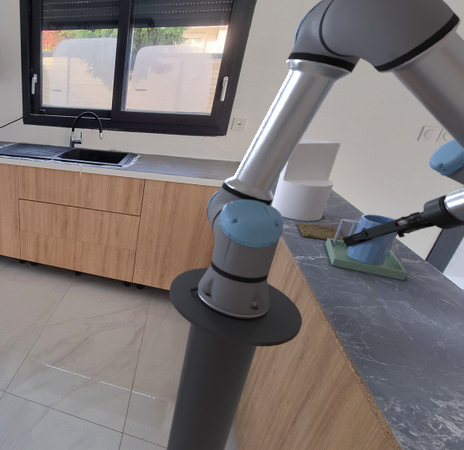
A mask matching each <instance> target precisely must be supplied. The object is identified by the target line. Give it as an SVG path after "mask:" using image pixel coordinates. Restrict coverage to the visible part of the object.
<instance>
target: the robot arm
mask: <svg viewBox="0 0 464 450" xmlns="http://www.w3.org/2000/svg"><path fill="white" fill-rule="evenodd" d="M460 24H461V18H460V17H459V16H458V15H457V13H456V12H455V11H454V10H453V9H452V8H451V6H449V4H448V3H447V2H445V1H444V0H320V1H319V2H317V3H316V4H315V5H313V7H312V8H311V9H310V10H308V12H307V13H306V14H305V15H304V16H303V17H302V19H301V20H300V22H299V24H298V25H297V28H296V30H295V33H294V39H293V45H294V46H293V47H292V50H291V51H290V53H289V55H288V57H287V59H286V61H285V62H286V66H287V69H288V74H287V75H286V77H285V80H284V81H283V82H282V85H281V87H280V89H279V91H278V93H277V95H276V97H275V98H274V100H273V102H272V104H271V105H270V108H269V110H268V111H267V112H266V115H265V117H264V119H263V121H262V123H261V125H260V126H259V129H258V130H257V132H256V134H255V136H254V138H253V140H252V141H251V144H250V145H249V147H248V149H247V151H246V153H245V155H244V157H243V159H242V161H241V162H240V164H239V166H238V168H237V170H236V172H235V174H234V175H233V176H230V177H228V178H225V179H224V180H223V182H222V185H221V186H220V188H219V190H217V191H215V192H214V194H212V195H211V197H210V199H209V200H208V203H207V207H206V217H207V220H208V222H209V225H210V228H211V230H212V233H213V236H214V246H213V251H212V256H211V261H210V265H209V267H207V268H208V270H207V271H206V273H205V274H204V276H203V277H202V279H201V280H200V282H199V284H198V287H194V288H190V290H191V292H194V291H197V296H198V298H199V300H200V301H201V302H202V303H203V304H204V305H205V306H206V307H207V308H209V309H210V310H212V311H214V312H216V313H218V314H220V315H222V316H225V317H228V318H232V319H236V320H245V321H250V320H257V319H260V318H262V317H264V316H265V315H266V314H267V312H268V309H269V304H270V299H269V291H268V284H269V283H268V278H269V274H270V271H271V267H272V264H273V262H274V259H275V255H276V251H277V248H278V246H279V242H280V239H281V238H282V234H283V226H284V217H283V216H282V215H281V213H280V212H279V211H278V210H277V209H275V208H274V207H272V203H273V199H274V194H273V192H272V189H273V187H274V185H275V183H276V182H277V180H279V177H280V174H281V172H282V170H283V169H284V167H285V165H286V164H287V162H288V160H289V159H290V157H291V155H292V154H293V152H294V150H295V149H296V147H297V145H298V144H299V142H300V140H303V137H304V136H305V134H306V132H307V130H309V127H310V125H311V124H312V122H313V120H314V119H315V117H316V116H317V114H318V112H319V110H320V109H321V107H322V106H323V104H324V102H325V101H326V99H327V98H328V96H329V94H330V93H331V91H332V89H333V88H334V86H335V84H336V83H337V82H339V81H340V80H342V79H346V78H347V77H349V76H350V75H352V73H353V71H354V70H355V68H356V66H357V65H358V63H359V61H360V60H363V61H365V62H367V63H369V64H370V65H371V66H372V67H373V68H374V69H375V70H376V71H377V72H378V73H379V74H386V73H387V74H388V73H389V74H392V76H394V77H395V78H396V79H397V81H398V82H399V83H400V84H401V85H402V86H403V87H404V88H405V89H406V90H407V91H408V93H410V94H411V95H412V96H413V97H414V99H415V100H416V101H418V102H419V104H420V105H421V106H422V108H424V109H425V110H426V111H427V112H428V113H429V114H430V115H431V116H432V118H433V119H434V120H435V121H436V122H437V123H438V124H439V125H440V126H441V127H442V128H443V129H444V130H445V131H446V132H447V133H448V135H449V136H450V137H451V138H452V139H451V140H449V141H447V142H445V143H444V144H442V145H441V146H439V148H438V149H436V150H435V151H434V152H433V153H432V155H431V156H430V158H429V161H428V164H429V167H430V168H431V169H432V170H433V171H435V172H437V173H439V174H440V176H444V177H446V178H448V179H451V180H452V181H454V182H456V183H459V184H461V185H463V186H464V39H463V38H462V37H461V35H459V33H458V32H457V30H458V28H459V26H460ZM422 208H423V211H420V212H419V211H416V212H412V213H410V214H409V215H405V216H400V217H399V218H395V219H396V220H393V221H390V222H387V223H384V224H381V225H378V226H374V227H371V228H368V229H366V228H362V230H361V232H359V233H356V234H355V233H353V235H351V236H348V235H347V236H345V237H344V238H342V239H343V241H344V243H345V245H346V247H349V246H353V245H356V244H359V243H362V242H366V241H369V240H372V238H376V237H380V236H383V235H387V234H391V233H394V232H398V231H399V232H398V234H397V237H399V238H404V237H406V234H411V233H413V232H416V231H420V230H424V229H428V228H433V227H436V228H439V229H441V230H451V229H455V228H458V227H463V226H464V187H463V188H459V189H457V190H454V191H451V192H449V193H447V194H444V195H441V196H438V197H436V198H433V199H430V200H428V201H425V203H424V204H423V207H422ZM267 283H268V284H267Z"/></svg>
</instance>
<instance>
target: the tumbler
mask: <svg viewBox="0 0 464 450" xmlns="http://www.w3.org/2000/svg"><path fill="white" fill-rule="evenodd" d="M396 219H397V218H393V217H390V216H386V215H381V214H371V213H370V214H369V213H366V214H362V215H361V216H360V219H359V220H358V221H359V224H357V225H356V228H355V230H354V234H356V233H359V232H361V230H362V228H366V229H368V228H371V227H374V226H378V225H381V224H384V223H387V222H390V221H393V220H396ZM398 232H399V231H398ZM398 232H394V233H391V234H387V235H383V236H380V237H376V238H372V240H369V241H366V242H362V243H359V244H356V245H353V246H349V249H348V251H347V255H348V256H349V257H351V258H352V259H354V260H357V261H360V262H363V263H367V264H373V265H380V264H383V263H384V261H385V260H386V258H387V255H388V253H389V251H390V249H391V250H392V247H393V245H394V243H395V240H396V238H397V237H398Z"/></svg>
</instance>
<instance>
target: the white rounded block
mask: <svg viewBox="0 0 464 450" xmlns="http://www.w3.org/2000/svg"><path fill="white" fill-rule="evenodd" d="M340 146H341V142H337V141H331V140H320V139H301V140H300V142H299V144H298V145H297V147H296V149H295V150H294V152H293V154H292V155H291V157H290V159H289V160H288V162H287V164H286V165H285V167H284V169H283V170H282V172H281V174H280V175H279V177H278V181H277V185H276V189H275V192H274V194H273V197H274V199H273V201H272V202H271V206H272V207H274V208H275V209H277V210H278V211H279V212H280V213H281V215H282V217H283V218H287V219H290V220H296V221H302V222H303V221H304V222H305V221H306V222H312V221H313V222H314V221H319V220H322V218H323V215H324V213H325V210H326V206H327V205H328V204H327V203H328V202H329V198H330V196H331V193H332V189H333V187H334V182H333V181H332V180H329V179H330V176H331V173H332V170H333V166H334V164H335V161H336V158H337V155H338V153H339V150H340Z"/></svg>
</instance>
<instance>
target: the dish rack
mask: <svg viewBox="0 0 464 450" xmlns="http://www.w3.org/2000/svg"><path fill="white" fill-rule="evenodd" d="M359 221H360V220H353V219H347V218H341V219H340V222H339V225H338V230H337V232H336V235H335V238H334V239H329V238H327V240H325V244H324V245H325V249H326V251H327V255H328V258H329V262H330V264H331V266H334V267H339V268H342V269H348V270H353V271H357V272H362V273H367V274H371V275H378V276H382V277H387V278H391V279H397V280H401V281H405V279H406V277H407V275H408V271H407V270H406V268H405V267H404V266H403V265H402V263H401V262H400V260H399V258H398V257H397V256H396V254H395V252H393V250H392V248H391V249H390V251H389V253H388V255H387V258H386V260H385V261H384V263H383V264H380V265H373V264H367V263H363V262H360V261H357V260H354V259H352V258H351V257H349V256H348V255H347V251H348V249H349V247H346V245H345V243H344V241H340V240H337V239H338V236H339V234H340V233H341V231H342V229H343V226H344V224H345V223H349V224H352V226H351V228H350V230H349V232H348V235H347V237H348V236H351V235H353V234H354V233H355V231H356V228H357V226H358V224H359Z"/></svg>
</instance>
